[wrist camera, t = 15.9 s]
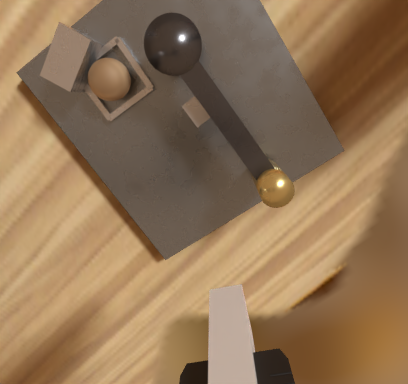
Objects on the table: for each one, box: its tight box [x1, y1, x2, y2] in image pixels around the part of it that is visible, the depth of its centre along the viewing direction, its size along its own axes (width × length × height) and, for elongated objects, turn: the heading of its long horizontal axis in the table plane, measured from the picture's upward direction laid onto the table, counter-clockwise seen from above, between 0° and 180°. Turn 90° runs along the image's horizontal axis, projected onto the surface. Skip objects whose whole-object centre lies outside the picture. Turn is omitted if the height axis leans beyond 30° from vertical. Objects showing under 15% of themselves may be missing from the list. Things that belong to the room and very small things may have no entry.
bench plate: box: [17, 0, 344, 260], centre depth 33 cm, size 24×26×6 cm
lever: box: [144, 13, 294, 208], centre depth 30 cm, size 5×19×7 cm, turn 37°
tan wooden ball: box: [88, 58, 131, 101], centre depth 32 cm, size 4×4×4 cm
